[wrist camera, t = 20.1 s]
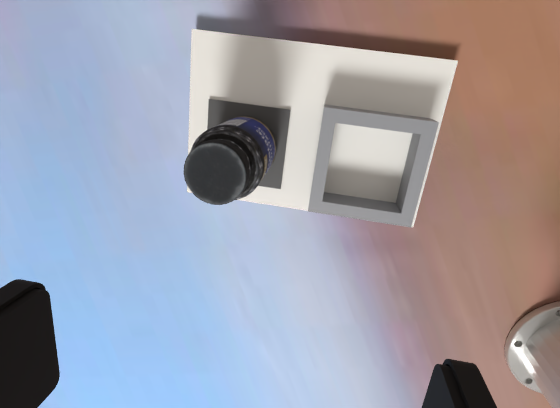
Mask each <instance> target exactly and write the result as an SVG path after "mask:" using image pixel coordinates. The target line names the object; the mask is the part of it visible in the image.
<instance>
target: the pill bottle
mask: <svg viewBox="0 0 560 408" xmlns="http://www.w3.org/2000/svg"><path fill="white" fill-rule="evenodd" d="M275 156H276V141H275V137H274V135H273V133H272V131H271V130H270V129H269V127H267V126H266V125H264V124H263V123H262V122H261V121H260V120H259V119H256V118H254V117H249V116H240V117H235V118H232V119H230V120H228V121H226V122H224V123H222V124H219V125H217V126H215V127H213V128H210V129H208V130H206V131H205V132H203V133H202V134H201V135H200V136H199V137H198V138H197V139H196V140H195V142H194V144H193V146H192V148H191V151H190V153H189V155H188V156H187V158H186V161H185V164H184V177H185V181H186V183H187V186H188V187H189V189H190V190H191V192H192V193H193V194H194V195H195V196H196V197H197V198H199V199H200V200H202V201H204V202H206V203H210V204H214V205H222V204H227V203H229V202H232V201H233V200H238V199H241V198H243V197H246V196H247V195H249V194H251V193H252V192H253V191H254V190H255V189H256V187H257V186H258V185H259V183H260V182H261V180H262V179H263V177H264V176H265V174H266V173H267V171H268V169H269V168H270V166H271V165H272V164H273V162H274V160H275Z"/></svg>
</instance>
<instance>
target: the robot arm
mask: <svg viewBox="0 0 560 408" xmlns="http://www.w3.org/2000/svg"><path fill="white" fill-rule="evenodd" d="M504 350H505V359H506V362H507V365H508V367H509V368H510V370H511V372H512V374H513V375H514V376H515V377H516V379H517V380H518V381H519V382H520V383H522V384H523V385H524V386H526V387H528V388H530V389H531V390H533V391H536V392H539V393H542V394H543V395H544V396H545V398H546V399H547V401H548V402H549V404H550V405H551V407H552V408H560V301H557V302H554V303H550V304H547V305H544V306H542V307H539V308H537V309H535V310H533V311H532V312H530V313H528V314H527V315H525V316H524V317H523V318H522V319H521V320H519V321H518V322H517V323H516V324H515V326H514V327H513V328H512V330H511V331H510V333H509V335H508V337H507V339H506V343H505V348H504ZM59 374H60V373H59V365H58V357H57V349H56V342H55V334H54V326H53V318H52V310H51V302H50V295H49V293H48V292H47V291H46V290H45V287H44V286H43V284H40V283H37V282H31V281H26V280H20V279H18V280H14V281H12V282H10V283H8V284H6V285H5V286H3V287H2V288H0V408H37V407H38V406H39V405H40V404H41V403H42V402H43V401H44V400H45V399H46V398H47V397H48V396H49V394H50V393H51V392H52V391H53V390H54V389H55V387H56V385H57V383H58V381H59ZM422 408H497V406H496V404H495V402H494V400H493V398H492V396H491V394H490V392H489V390H488V388H487V386H486V384H485V382H484V379H483V377H482V375H481V373H480V371H479V369H478V368H477V366H476V365H475V364H473V363H468V362H462V361H457V360H451V359H446V360H445V361H444V363H443V365H441V364H436V365H435V367H434V370H433V373H432V376H431V380H430V383H429V386H428V389H427V393H426V396H425V399H424V402H423V406H422Z"/></svg>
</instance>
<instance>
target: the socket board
mask: <svg viewBox="0 0 560 408" xmlns="http://www.w3.org/2000/svg"><path fill="white" fill-rule="evenodd" d="M457 62H458V61H456V60H448V59H440V58H431V57H423V56H415V55H406V54H398V53H389V52H381V51H373V50H364V49H356V48H348V47H339V46H331V45H322V44H314V43H306V42H297V41H289V40H281V39H272V38H264V37H255V36H247V35H239V34H230V33H222V32H214V31H205V30H197V29H192V37H191V72H190V107H189V142H188V155H189V153H190V151H191V148H192V146H193V144H194V142H195V140H196V139H197V138H198V137H199V136H200V135H201V134H202V133H203V132H205V131H206V130H208V129H210V128H213V127H215V126H217V125H219V124H222V123H224V122H226V121H228V120H230V119H232V118H235V117H240V116H249V117H254V118H256V119H259V120H260V121H261V122H262V123H263V124H264V125H266V126H267V127H269V129H270V130H271V131H272V133H273V135H274V137H275V141H276V156H275V160H274V162H273V164H272V165H271V166H270V168H269V169H268V171H267V173H266V174H265V176H264V177H263V179H262V180H261V182H260V183H259V185H258V186H257V187H256V189H255V190H254V191H253V192H252V193H251V194H249V195H247V196H246V197H243V198H241V199H238V200H241V201H248V202H254V203H261V204H267V205H274V206H280V207H286V208H293V209H299V210H306V211H309V212H315V213H322V214H328V215H335V216H341V217H348V218H354V219H361V220H367V221H374V222H380V223H386V224H393V225H399V226H406V227H413V226H414V222H415V219H416V215H417V211H418V208H419V204H420V200H421V196H422V193H423V189H424V185H425V181H426V178H427V174H428V170H429V167H430V163H431V159H432V155H433V152H434V148H435V144H436V141H437V137H438V133H439V129H440V126H441V122H442V118H443V115H444V111H445V107H446V103H447V100H448V96H449V92H450V88H451V85H452V81H453V77H454V74H455V70H456V66H457ZM187 192H189V193H192V192H191V190H190V189H189V187H188V186H187Z"/></svg>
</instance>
